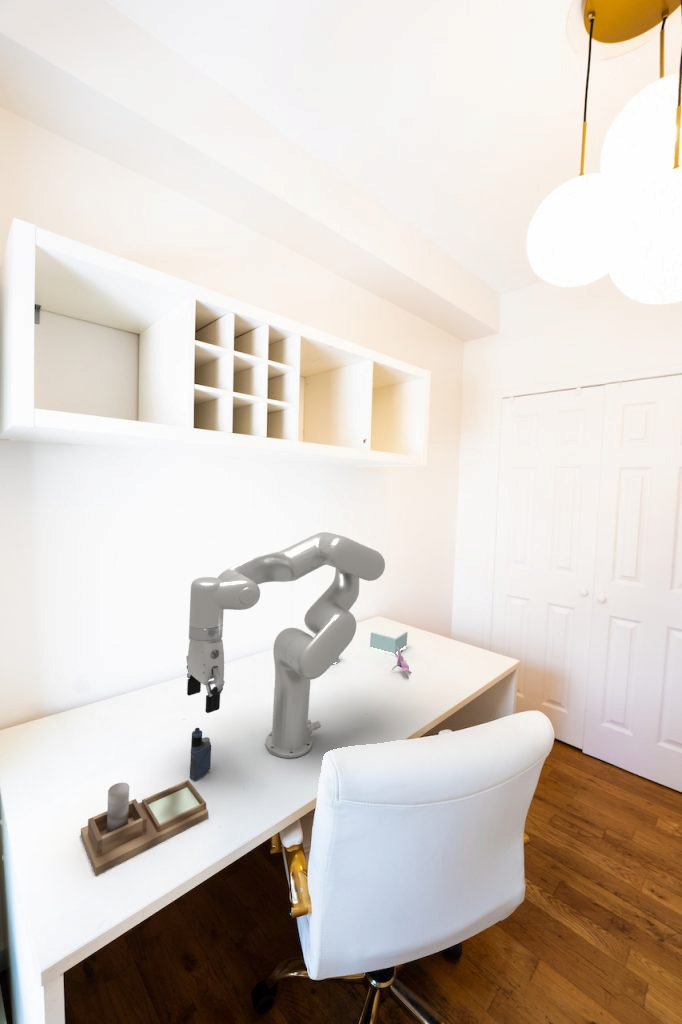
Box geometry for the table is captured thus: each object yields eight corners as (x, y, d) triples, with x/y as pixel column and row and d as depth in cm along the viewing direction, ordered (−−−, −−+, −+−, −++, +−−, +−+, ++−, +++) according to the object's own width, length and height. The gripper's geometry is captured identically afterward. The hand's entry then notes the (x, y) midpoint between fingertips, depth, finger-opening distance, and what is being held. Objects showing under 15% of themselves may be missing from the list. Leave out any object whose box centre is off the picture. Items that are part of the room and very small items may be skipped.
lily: (397, 686, 158) (412, 665, 157) (375, 664, 165) (389, 644, 164) (410, 685, 168) (424, 665, 167) (388, 664, 175) (402, 645, 174)
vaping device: (187, 778, 102) (189, 729, 101) (205, 766, 106) (207, 719, 105) (194, 783, 100) (196, 733, 100) (212, 771, 105) (214, 723, 104)
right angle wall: (406, 648, 193) (407, 632, 192) (394, 656, 182) (395, 639, 182) (382, 641, 199) (383, 625, 199) (369, 649, 189) (370, 632, 188)
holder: (185, 788, 98) (187, 744, 98) (207, 818, 90) (210, 770, 90) (80, 835, 84) (81, 784, 83) (95, 875, 76) (97, 819, 75)
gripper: (239, 639, 97) (235, 712, 98) (204, 618, 110) (201, 683, 111) (207, 646, 92) (204, 723, 93) (175, 623, 105) (172, 692, 106)
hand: (202, 702), depth 102 cm, fingers open, 9 cm apart
